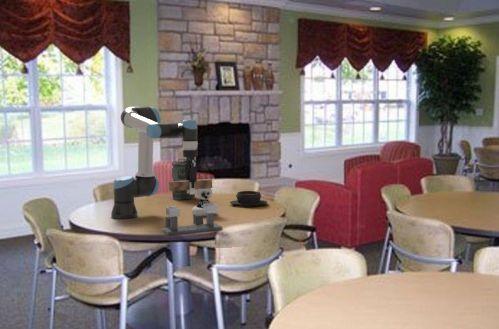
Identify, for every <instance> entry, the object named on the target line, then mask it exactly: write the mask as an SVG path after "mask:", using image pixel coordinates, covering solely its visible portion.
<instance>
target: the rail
mask: <svg viewBox="0 0 499 329" xmlns="http://www.w3.org/2000/svg"><path fill="white" fill-rule="evenodd" d="M189 181H190V180H184V181H173V180H171V181H168V190H169V191H170V192H172V191H180V190H190V182H189ZM207 188H211V189H213V179H211V178H204V179H203V178H202V179H197V181H195V190H196V189H207Z"/></svg>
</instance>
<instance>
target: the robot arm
mask: <svg viewBox="0 0 499 329" xmlns="http://www.w3.org/2000/svg"><path fill="white" fill-rule="evenodd" d="M120 121H121V123H122V124H123V126H125V127H127V128H129V129H130V128H131V129H132V128H133V129H136V131H137V132H138V144H137V145H138V150H137V151H138V152H137V153H138V154H137V155H138V156H137V157H138V158H137V171H136V173H135V175H126V176H120V177H117V178H114V180H113V184H112V185H113V186H112V187H113V188H112V189H113V206H112V210H111V213H110V214H111V215H110V218H112V219H118V220H122V219H123V220H124V219H126V220H127V219H133V218H137V217H138V215H139V214H138V209H137V207H136V205H135V199H136V198H145V197H150V196H151V197H152V196H154V195H156V193H158V190H159V186H160V183H159V182H160V181H159V180H158V177H157V176H156V174H155V173H154V171H153V165H154V164H153V162H154V161H153V160H154V157H153V156H154V139H167V138H168V139H169V138H182V149H183V150H182V157H183V158H185V159H186V160H183V161H184V164H185V179H186V180H190V181H189V182H190V190H187V193H190V195H191V194H195V195H196V189H195V181H197V180H198V178H197V173H198V172H197V170H198V169H197V168H198V166H197V165H198V162H197V161H196V159H195V158H197V157H198V145H199V143H198V122H197V120H196V119H183V120H182V122H181V123H180V122H175V123H174V122H173V123H170V122H169V123H161V115H160V111H159V110H158V108H156V107H155V106H129V107H126V108H125V109H124V110H122V112H121V114H120Z"/></svg>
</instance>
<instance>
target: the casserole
mask: <svg viewBox="0 0 499 329" xmlns="http://www.w3.org/2000/svg"><path fill="white" fill-rule="evenodd" d="M235 197H236V200H231V201H230V202H229V203H230V204H231V205H235V206H236V205H237V206H242V207H247V206H251V207H257V206H259V205H266V204H268V201H267V200H261V198H262V194H261V192H259V191H255V190H242V191H241V190H240V191H238V192H237V194H236V196H235Z"/></svg>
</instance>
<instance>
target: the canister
mask: <svg viewBox="0 0 499 329" xmlns="http://www.w3.org/2000/svg"><path fill="white" fill-rule="evenodd" d="M180 160H181V161H180ZM184 161H186V158H179V159H178V161H177V160H176V161H173V162H172V163H171V165H172V168H171V178H172V181H184V180H186V179H185V164H184ZM171 194H172V198H173V199H174V200H178V201H183V200H194V199H195V198H196V193H195V194H191V195H190V193H187V190H180V191H171Z"/></svg>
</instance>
